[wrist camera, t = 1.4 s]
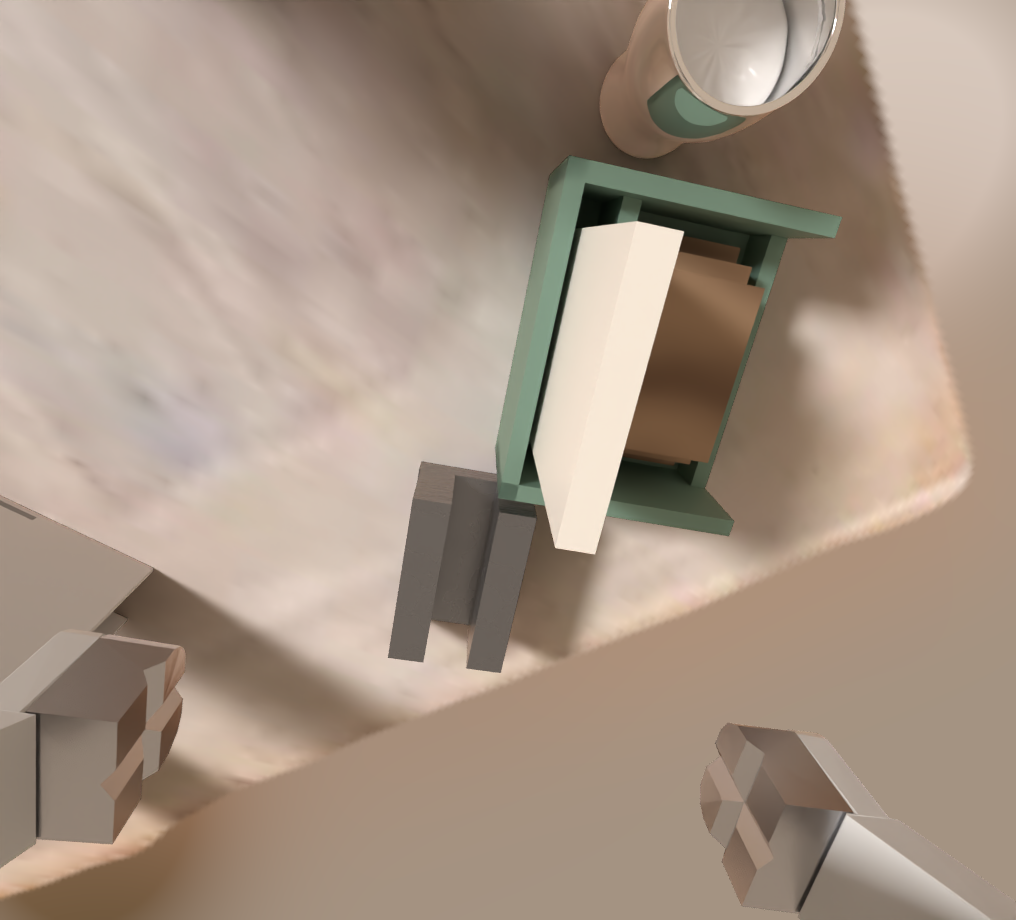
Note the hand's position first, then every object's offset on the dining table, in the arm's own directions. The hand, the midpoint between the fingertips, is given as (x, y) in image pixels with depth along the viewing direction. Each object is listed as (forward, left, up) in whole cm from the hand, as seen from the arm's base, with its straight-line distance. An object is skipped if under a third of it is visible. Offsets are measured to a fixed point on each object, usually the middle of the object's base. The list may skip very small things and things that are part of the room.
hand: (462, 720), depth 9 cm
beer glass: (-16, +7, -34) cm, 38 cm away
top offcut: (-2, +11, -28) cm, 30 cm away
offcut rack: (-2, +9, -34) cm, 35 cm away
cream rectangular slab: (-2, +5, -33) cm, 33 cm away
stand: (+15, +1, -34) cm, 37 cm away
